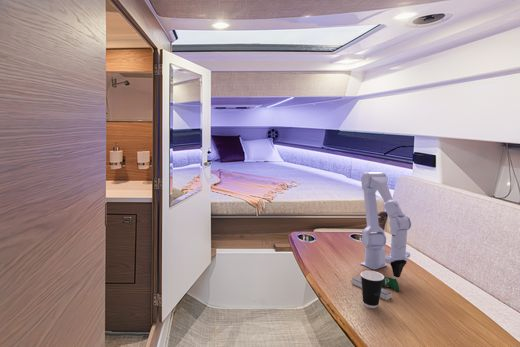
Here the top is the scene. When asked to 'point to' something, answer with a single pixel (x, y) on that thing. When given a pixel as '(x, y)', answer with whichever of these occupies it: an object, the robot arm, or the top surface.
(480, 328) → the top surface
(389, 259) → the robot arm
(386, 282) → the gaming controller
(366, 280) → the dixie cup
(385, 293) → the bar
